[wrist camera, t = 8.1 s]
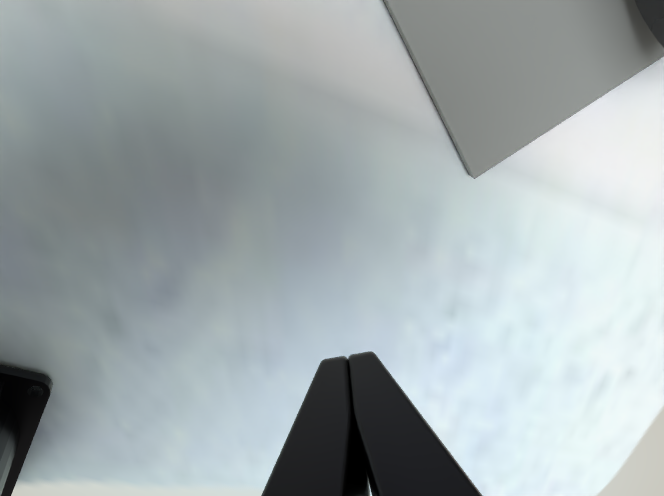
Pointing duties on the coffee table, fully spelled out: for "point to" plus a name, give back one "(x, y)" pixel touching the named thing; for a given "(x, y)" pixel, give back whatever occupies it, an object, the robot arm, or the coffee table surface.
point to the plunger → (653, 17)
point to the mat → (519, 64)
